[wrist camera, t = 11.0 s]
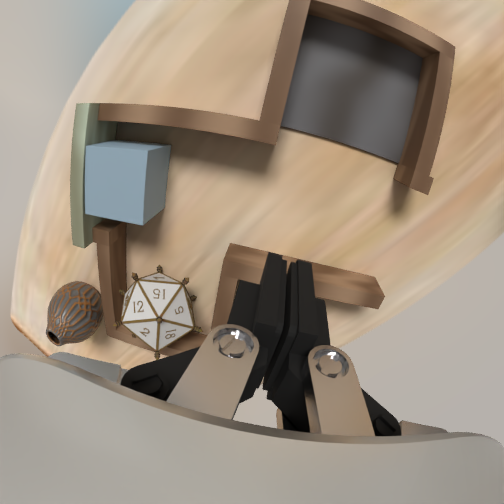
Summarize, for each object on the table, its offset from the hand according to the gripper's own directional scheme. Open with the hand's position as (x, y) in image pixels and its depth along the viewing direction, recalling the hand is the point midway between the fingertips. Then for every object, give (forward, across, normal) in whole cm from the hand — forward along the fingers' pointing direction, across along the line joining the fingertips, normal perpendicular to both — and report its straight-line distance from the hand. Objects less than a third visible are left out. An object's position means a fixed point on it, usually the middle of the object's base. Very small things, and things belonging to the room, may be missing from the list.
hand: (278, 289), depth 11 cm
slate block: (+14, +14, +1) cm, 20 cm away
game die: (+14, +9, +13) cm, 21 cm away
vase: (+14, +21, +18) cm, 31 cm away
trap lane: (+15, +3, +1) cm, 15 cm away
